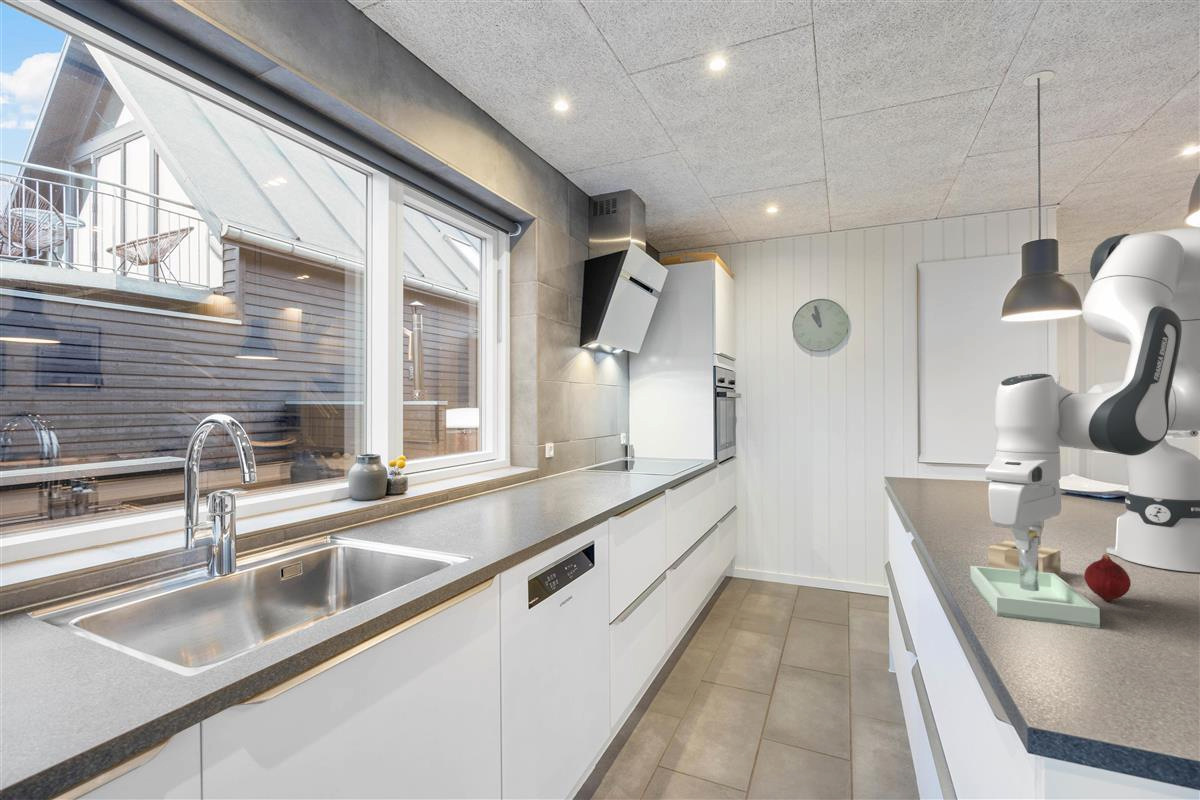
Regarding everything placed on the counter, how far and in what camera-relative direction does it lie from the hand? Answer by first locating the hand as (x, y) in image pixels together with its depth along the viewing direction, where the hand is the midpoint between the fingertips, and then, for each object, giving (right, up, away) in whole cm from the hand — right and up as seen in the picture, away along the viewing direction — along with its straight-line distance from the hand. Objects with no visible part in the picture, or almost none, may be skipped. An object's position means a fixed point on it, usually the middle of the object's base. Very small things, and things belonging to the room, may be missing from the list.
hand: (1028, 547), depth 93 cm
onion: (+14, -10, 0) cm, 17 cm away
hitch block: (+11, -9, +15) cm, 21 cm away
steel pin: (0, -7, 0) cm, 7 cm away
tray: (0, -10, 0) cm, 10 cm away
